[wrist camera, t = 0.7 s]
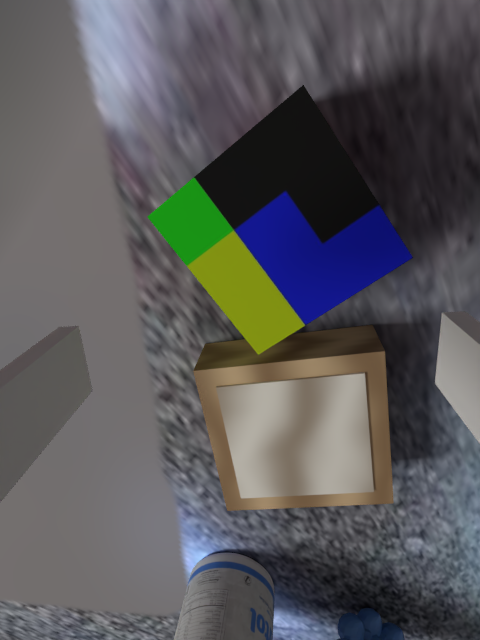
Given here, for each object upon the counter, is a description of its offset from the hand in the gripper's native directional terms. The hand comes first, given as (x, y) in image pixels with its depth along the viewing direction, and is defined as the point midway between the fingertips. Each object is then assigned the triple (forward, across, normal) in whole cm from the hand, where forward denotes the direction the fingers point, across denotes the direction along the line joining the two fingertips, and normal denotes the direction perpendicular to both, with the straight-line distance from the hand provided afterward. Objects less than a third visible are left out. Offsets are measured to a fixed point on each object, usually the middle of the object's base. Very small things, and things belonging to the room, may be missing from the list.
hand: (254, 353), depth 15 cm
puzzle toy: (+18, +1, +3) cm, 19 cm away
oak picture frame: (+19, +2, -14) cm, 23 cm away
